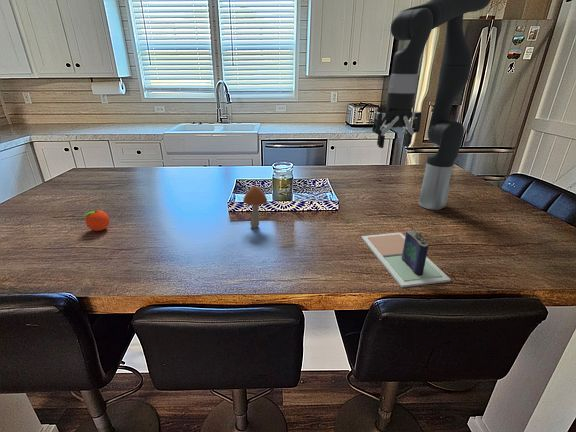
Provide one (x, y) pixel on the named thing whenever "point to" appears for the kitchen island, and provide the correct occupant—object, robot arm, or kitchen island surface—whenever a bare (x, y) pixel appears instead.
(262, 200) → the mushroom
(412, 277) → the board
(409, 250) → the flask
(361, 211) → the kitchen island surface
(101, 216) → the clementine
